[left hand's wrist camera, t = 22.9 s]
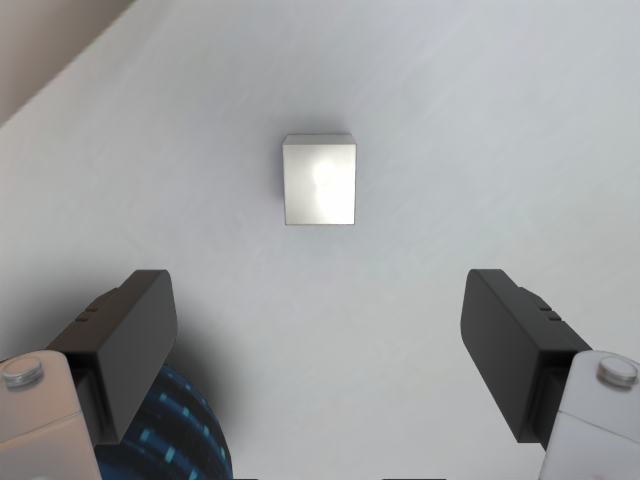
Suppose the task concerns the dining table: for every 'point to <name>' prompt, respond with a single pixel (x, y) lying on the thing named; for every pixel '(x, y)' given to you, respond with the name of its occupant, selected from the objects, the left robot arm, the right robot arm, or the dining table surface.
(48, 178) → the dining table surface
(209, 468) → the decorative sphere
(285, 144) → the block
